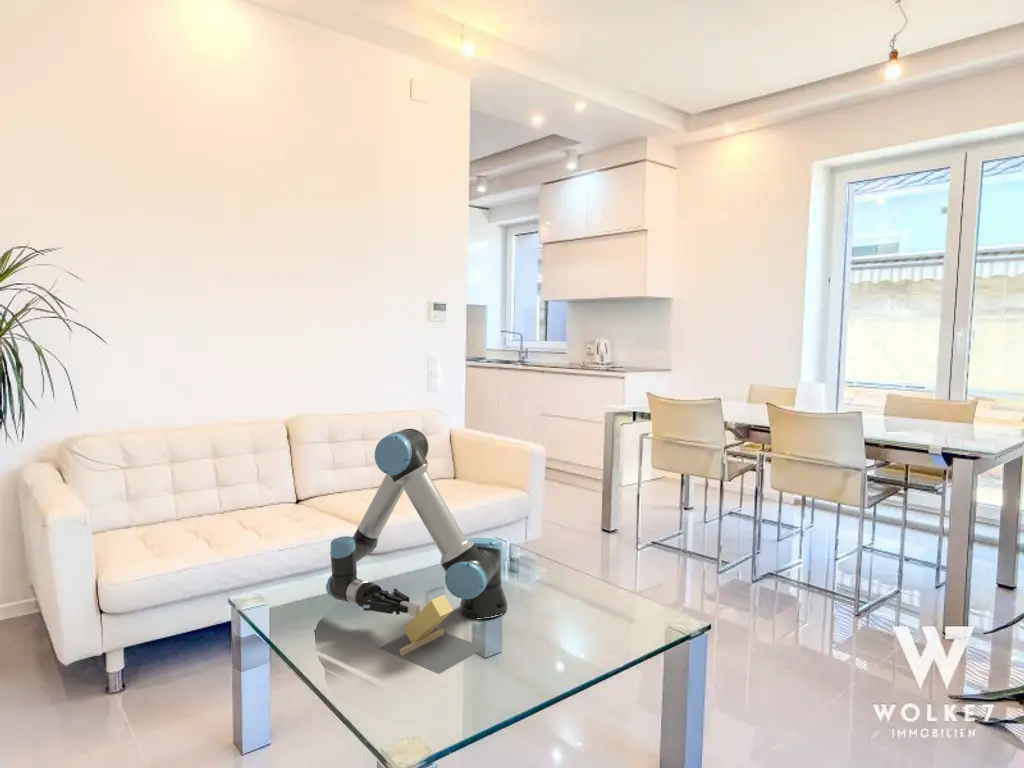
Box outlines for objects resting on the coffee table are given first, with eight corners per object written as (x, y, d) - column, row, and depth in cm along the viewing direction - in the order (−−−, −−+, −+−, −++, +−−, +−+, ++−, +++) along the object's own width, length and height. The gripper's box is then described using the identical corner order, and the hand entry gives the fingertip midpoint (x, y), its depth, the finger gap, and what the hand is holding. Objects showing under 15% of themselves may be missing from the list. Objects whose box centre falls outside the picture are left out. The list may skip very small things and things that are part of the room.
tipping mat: (378, 650, 182) (378, 642, 182) (425, 628, 196) (425, 620, 196) (439, 676, 167) (438, 668, 166) (485, 650, 181) (485, 642, 180)
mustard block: (403, 628, 184) (431, 600, 177) (416, 622, 188) (444, 594, 180) (412, 644, 183) (440, 616, 175) (425, 638, 186) (453, 610, 178)
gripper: (382, 599, 204) (435, 616, 189) (347, 613, 194) (400, 632, 179) (380, 575, 203) (433, 590, 188) (346, 589, 193) (399, 605, 178)
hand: (417, 611), depth 184 cm, fingers closed
